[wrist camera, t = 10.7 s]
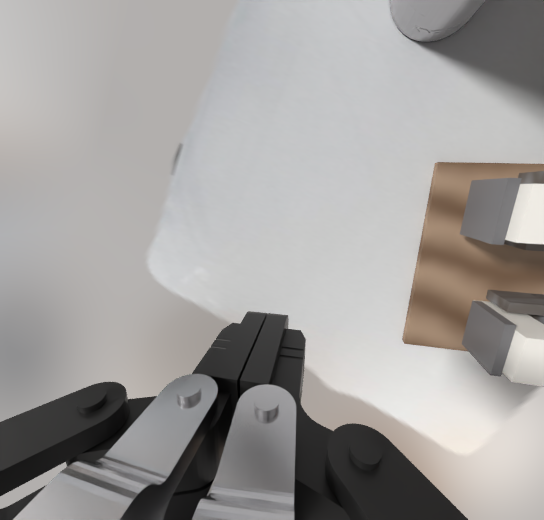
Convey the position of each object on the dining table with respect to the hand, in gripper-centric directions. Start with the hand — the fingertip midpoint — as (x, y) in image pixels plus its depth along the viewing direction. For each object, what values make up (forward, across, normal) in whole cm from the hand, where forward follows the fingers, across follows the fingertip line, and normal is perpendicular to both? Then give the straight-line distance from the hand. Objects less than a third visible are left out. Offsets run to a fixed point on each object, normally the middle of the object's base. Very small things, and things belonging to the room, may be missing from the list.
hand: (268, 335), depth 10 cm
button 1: (+26, -23, +11) cm, 37 cm away
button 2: (+27, -20, -3) cm, 34 cm away
